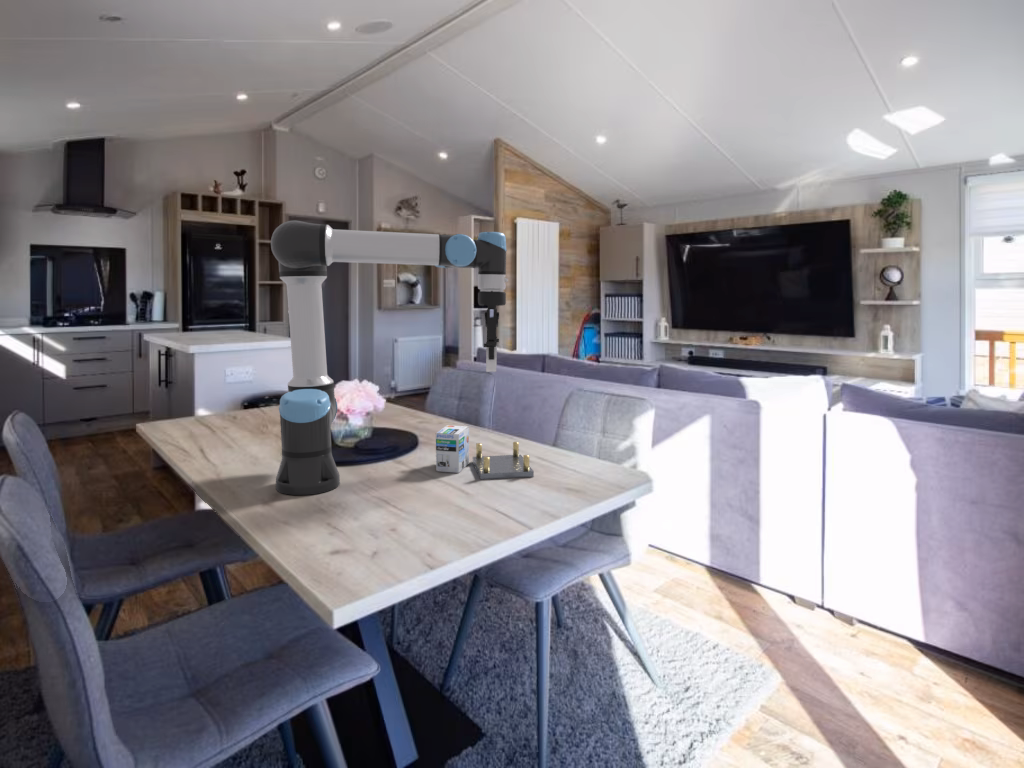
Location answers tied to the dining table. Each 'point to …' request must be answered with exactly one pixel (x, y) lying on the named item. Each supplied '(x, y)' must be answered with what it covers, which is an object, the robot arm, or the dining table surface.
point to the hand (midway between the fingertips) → (491, 368)
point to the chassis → (502, 464)
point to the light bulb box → (452, 448)
